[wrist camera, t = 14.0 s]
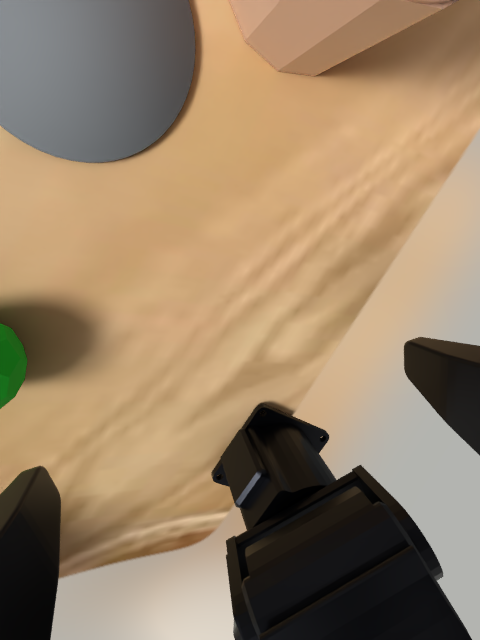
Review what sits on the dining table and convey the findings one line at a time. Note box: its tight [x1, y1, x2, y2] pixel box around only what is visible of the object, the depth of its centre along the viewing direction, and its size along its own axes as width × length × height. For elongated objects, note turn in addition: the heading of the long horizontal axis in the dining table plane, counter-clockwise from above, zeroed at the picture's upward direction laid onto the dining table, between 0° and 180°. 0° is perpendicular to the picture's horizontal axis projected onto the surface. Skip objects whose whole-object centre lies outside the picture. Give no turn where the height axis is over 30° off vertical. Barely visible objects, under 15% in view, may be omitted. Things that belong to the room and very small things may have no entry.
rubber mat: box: [0, 0, 195, 163], centre depth 16 cm, size 10×10×1 cm
